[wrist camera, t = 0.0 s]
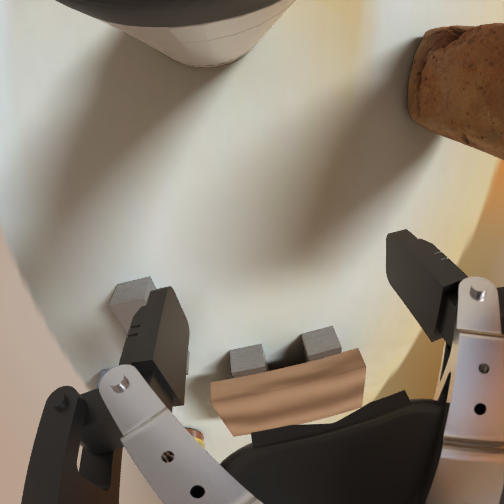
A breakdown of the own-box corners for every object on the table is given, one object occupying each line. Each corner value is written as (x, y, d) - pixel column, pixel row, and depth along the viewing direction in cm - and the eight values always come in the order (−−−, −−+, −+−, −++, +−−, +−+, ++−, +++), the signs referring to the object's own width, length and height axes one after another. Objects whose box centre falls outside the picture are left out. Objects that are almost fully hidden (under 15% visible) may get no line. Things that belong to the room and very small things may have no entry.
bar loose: (118, 282, 31) (108, 305, 28) (150, 274, 31) (143, 297, 28) (160, 355, 37) (157, 378, 34) (189, 350, 37) (188, 374, 34)
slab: (210, 382, 35) (210, 402, 32) (357, 347, 34) (366, 366, 31) (232, 419, 40) (233, 436, 37) (355, 390, 39) (361, 407, 37)
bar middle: (229, 348, 37) (231, 373, 34) (260, 341, 37) (265, 366, 34) (250, 396, 44) (253, 418, 40) (276, 391, 43) (280, 413, 40)
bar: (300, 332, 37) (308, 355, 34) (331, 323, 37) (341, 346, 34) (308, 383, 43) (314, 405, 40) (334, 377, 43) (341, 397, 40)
